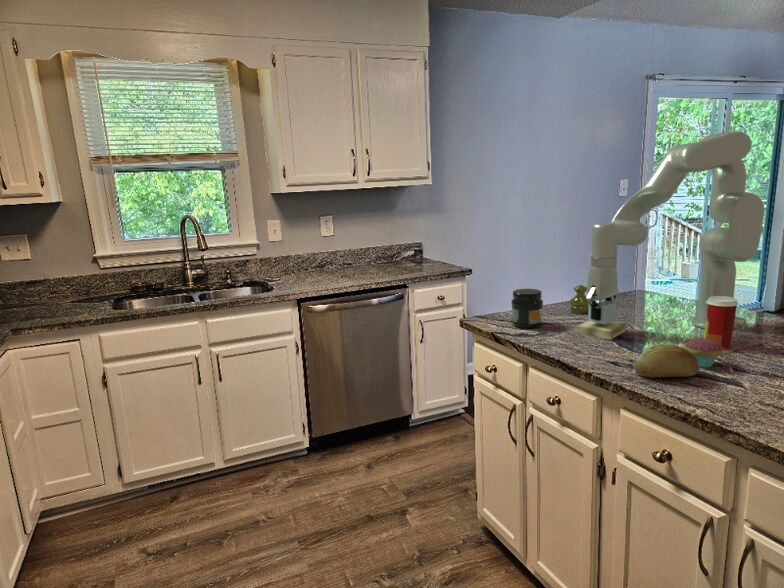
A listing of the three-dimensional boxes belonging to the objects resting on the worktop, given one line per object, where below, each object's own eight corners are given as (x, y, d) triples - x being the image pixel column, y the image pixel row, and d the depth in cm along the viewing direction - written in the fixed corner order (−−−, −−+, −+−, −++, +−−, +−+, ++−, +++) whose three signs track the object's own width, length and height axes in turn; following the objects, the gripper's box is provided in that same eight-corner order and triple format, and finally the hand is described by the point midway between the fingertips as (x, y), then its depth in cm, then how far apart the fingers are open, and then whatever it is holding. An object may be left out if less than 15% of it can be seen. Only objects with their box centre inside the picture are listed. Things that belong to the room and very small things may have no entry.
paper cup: (729, 342, 149) (734, 295, 146) (737, 350, 142) (742, 302, 139) (699, 341, 152) (702, 295, 149) (705, 349, 145) (709, 301, 142)
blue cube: (615, 320, 164) (616, 302, 162) (604, 324, 160) (605, 305, 159) (599, 317, 168) (599, 299, 167) (588, 320, 165) (588, 302, 164)
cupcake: (689, 356, 140) (692, 314, 137) (725, 363, 134) (729, 319, 131) (678, 365, 134) (681, 321, 131) (716, 373, 128) (720, 327, 125)
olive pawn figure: (566, 310, 194) (566, 284, 192) (585, 308, 195) (585, 282, 192) (575, 315, 187) (575, 288, 185) (594, 313, 187) (595, 286, 185)
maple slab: (625, 332, 165) (625, 323, 164) (610, 340, 158) (611, 331, 157) (592, 326, 173) (592, 318, 172) (576, 334, 165) (577, 325, 165)
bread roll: (708, 383, 122) (710, 351, 121) (642, 383, 124) (644, 352, 122) (689, 368, 132) (691, 339, 130) (628, 369, 133) (630, 340, 132)
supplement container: (549, 326, 174) (549, 292, 172) (522, 331, 171) (522, 296, 168) (531, 319, 184) (531, 286, 181) (505, 323, 181) (505, 290, 178)
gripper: (609, 257, 168) (607, 310, 172) (576, 264, 159) (575, 320, 162) (630, 259, 162) (628, 314, 166) (598, 267, 152) (596, 325, 156)
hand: (602, 317), depth 164 cm, fingers closed on blue cube, 6 cm apart
